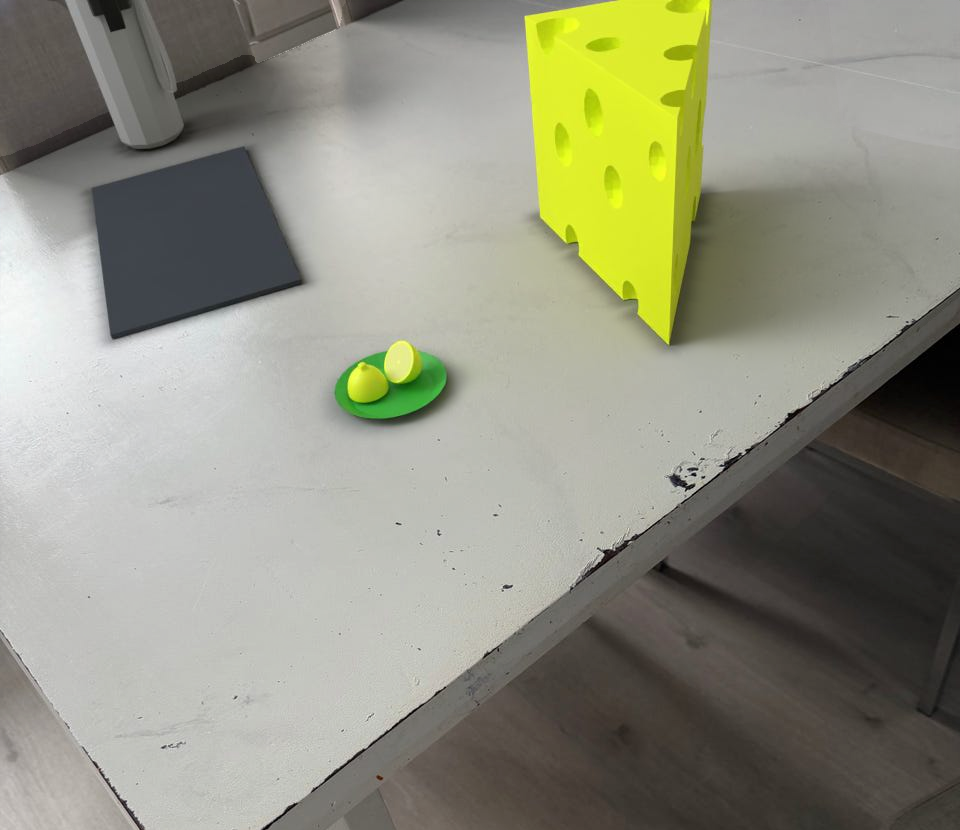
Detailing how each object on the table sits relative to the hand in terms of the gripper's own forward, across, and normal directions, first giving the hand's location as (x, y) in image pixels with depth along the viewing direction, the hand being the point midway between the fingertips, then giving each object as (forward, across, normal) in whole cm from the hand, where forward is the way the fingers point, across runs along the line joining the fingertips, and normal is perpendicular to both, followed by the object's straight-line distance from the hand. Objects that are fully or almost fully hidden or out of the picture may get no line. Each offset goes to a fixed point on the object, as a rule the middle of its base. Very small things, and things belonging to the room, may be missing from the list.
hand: (112, 13), depth 84 cm
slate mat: (+17, 0, -13) cm, 22 cm away
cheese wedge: (+42, -33, -14) cm, 55 cm away
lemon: (+50, -11, -14) cm, 53 cm away
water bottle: (-7, 0, -14) cm, 15 cm away
